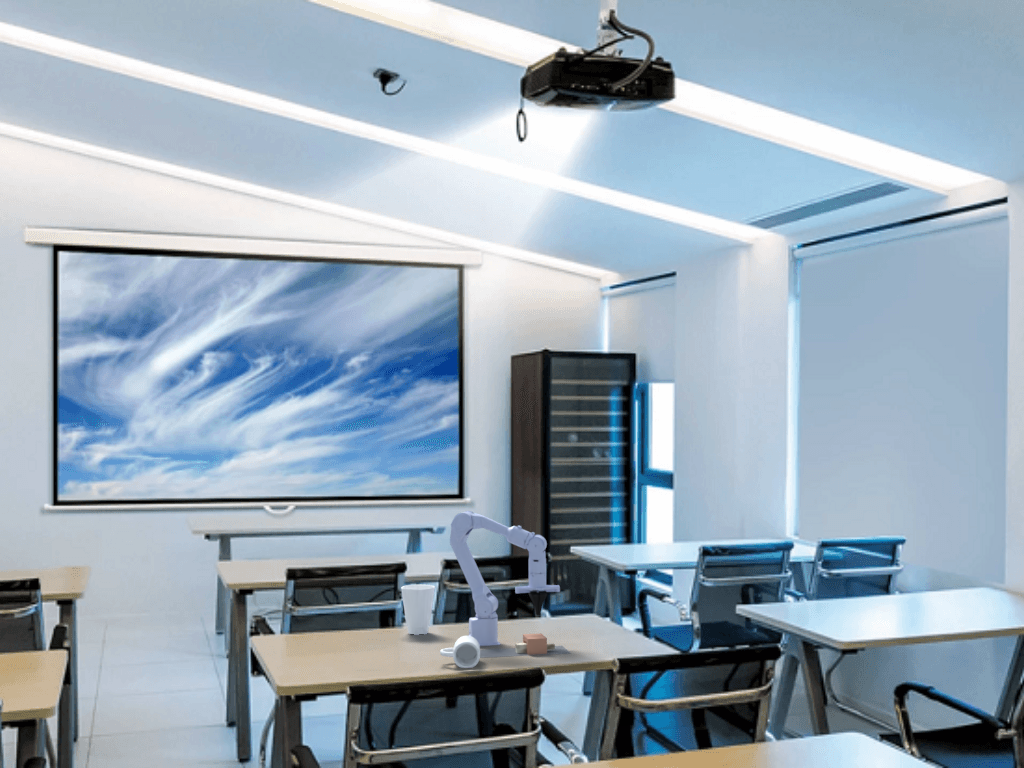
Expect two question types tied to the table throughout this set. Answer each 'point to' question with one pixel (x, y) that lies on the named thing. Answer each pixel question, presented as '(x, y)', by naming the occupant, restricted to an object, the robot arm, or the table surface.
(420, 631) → the cup
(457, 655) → the mug
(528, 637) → the salmon orange block
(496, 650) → the felt mat
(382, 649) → the table surface
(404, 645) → the table surface
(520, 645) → the cream rectangular block
